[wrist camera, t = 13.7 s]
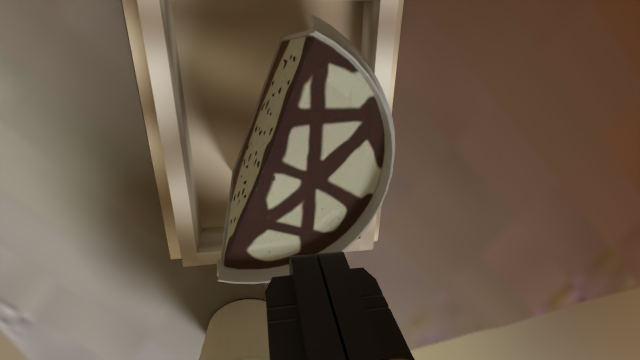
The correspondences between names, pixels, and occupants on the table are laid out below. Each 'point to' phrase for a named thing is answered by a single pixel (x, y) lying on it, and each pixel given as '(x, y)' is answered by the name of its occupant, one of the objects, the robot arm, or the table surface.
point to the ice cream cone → (237, 332)
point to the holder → (228, 94)
